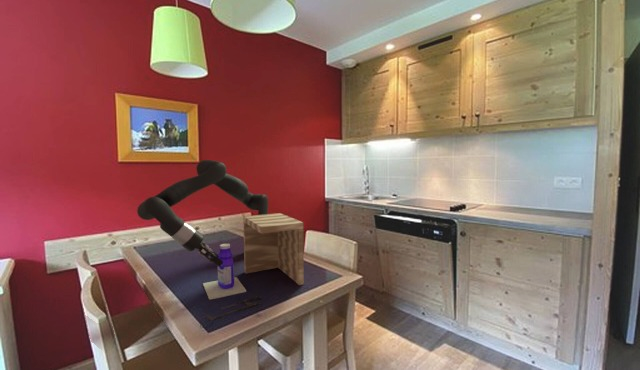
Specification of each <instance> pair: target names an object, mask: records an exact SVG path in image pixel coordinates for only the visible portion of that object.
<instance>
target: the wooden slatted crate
mask: <svg viewBox="0 0 640 370" xmlns="http://www.w3.org/2000/svg"><path fill="white" fill-rule="evenodd" d="M242 219H243V223H242V224H243V254H244V255H243V257H244V258H243V260H244V261H243V264H244V274H251V273H256V272H261V271H267V270H271V269H276V268H277V269H279V270H280V271H282V272H283V273H284V274H285V275H287V276H288V277H289V278H290V279H291V280H292V281H294V282H295V283H296V284H297V285H299V286H303V285H304V282H305V279H304V276H305V274H304V273H305V271H304V270H305V269H304V268H305V267H304V266H305V264H304V263H305V262H304V257H305V256H304V254H305V253H304V249H305V248H304V222H303V221H301V220H298V219H296V218H293V217H291V216H288V215H286V214H284V213H281V212H278V213H268V214H264V215H258V214H257V215H245V216H244V215H243V217H242Z"/></svg>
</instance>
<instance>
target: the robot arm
mask: <svg viewBox="0 0 640 370" xmlns="http://www.w3.org/2000/svg"><path fill="white" fill-rule="evenodd" d="M196 173H197V175H196V176H192V177H188V178H186V179H182V180H179V181H177V182H174V183H173V184H171V185H169V186H168V187H165V188H164V189H163V190H162V191H160V192H159V193H158V194H156V195H154V196H149V197H148V198H146V199H145V200H143V201H142V202H141V203H140V204H138V206H137V211H136V212H137V216H138V217H139V218H141V219H142V220H145V221H150V220H151V221H152V220H154V219H155V220H156V221H158V223H160V225H159V227H160V229H161V230H162V231H163V232H164V233H165V234H167V235H168V236H169V237H171V238H172V239H173V240H174V241H175V242H177V243H178V244H179V245H181V247H182V248H185V250H187V251H188V252H193V251H194V250H196V249H197V250H196V251H197V252H198V254H200V255H202V256H203V257H204V258H205V259H207V260H208V261H209V262H211V263H214V264H215V265H218V266H221V265H222V264H223V261H222V260H220V259H219V257H218V255H219V254H217V253H216V252H215V251H213V249H212V248H211V246H209V244H207V243H206V242H205V241H204V242H203V240H204V237H205V236H204V235H203V234H202V233H201V232H199V231H198V230H197V229H196V228H194V227H193V226H192V225H191V224H189V223H187V222H186V221H185V220H183V219H182V218H181V217H180V216H178V215H177V214H176V213H175V212H174V210H173V209H172V208H171V207H173V206H176V205H177V204H179V203H180V202H182V201H184V200H185V199H186V198H188V197H189V196H191V195H193V194H195V193H196V192H199V191H201V190H203V189H205V188H207V187H210V186H211V185H212V186H213V185H215V186H216V187H217V188H218V189H220V190H222V191H223V192H225V194H228V195H229V196H231V197H232V198H233V199H236V200H237V201H239V202H241V203H242V204H244V206H246V208H248V209H249V210H251V211H258V212H257V215H264V214H269V198H268V196H267V195H266V194H263V193H258V194H257V193H251V192H250V191H249V186H248V185H247V184H246V183H245V181H243V180H242V179H240V178H238V177H236V176H234V175H233V174H229V173H227V167H226V165H225V164H224V163H223V162H221V161H218V160H213V159H203V160H200V161H199V162H198V163H197V165H196ZM218 266H217V267H218Z"/></svg>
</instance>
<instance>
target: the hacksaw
mask: <svg viewBox="0 0 640 370" xmlns="http://www.w3.org/2000/svg"><path fill="white" fill-rule="evenodd" d="M261 299H263V296H261V295H256V296H254V297H250V298H248V299H244V300H242V301H238V302H236V303H233V304H229V305H226V306H222V307H220V308H218V309H219V310H220V309H221V310H224V309H228V308H231V307H235V306H237V305H242V304H246V306H242V307H240V308H237V309H234V310H232V311H229V312H228V311H227V312H225V313H222V314H220V315H218V316H215V317H212V316H211V315H209V314H208V313H204V315H205V317H208V318H209V320H210V321H212V322H211V323H210V325H207V326H201V325H199V326H200V328H203V329H204V328H205V329H207V328H210V327H211V326H213V324H214V322H215V321H216V320H218V319H222V318H223V317H225V316H227V315H230V314H231V315H232V314H234V313H237V312H241V311H244V310H246V309H249V308H254V307H255V306H256V305H258V306H256V308H258V307H259V306H261V305H262V303H260V302H252V301H259V300H261Z"/></svg>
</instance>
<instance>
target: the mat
mask: <svg viewBox="0 0 640 370" xmlns="http://www.w3.org/2000/svg"><path fill="white" fill-rule="evenodd" d="M202 286H203V288H204V291H205V292H206V294H207V297H208V300H215V299H220V298H225V297H228V296H233V295H238V294H242V293H246V292H247V289H246V288H245V287H244V285H243V283H241V280H239V278H238V277H237V276H234V286H233V287H231V288H227V289H223V288H221V287H219V285H218V280H214V281H208V282H203V283H202Z"/></svg>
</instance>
